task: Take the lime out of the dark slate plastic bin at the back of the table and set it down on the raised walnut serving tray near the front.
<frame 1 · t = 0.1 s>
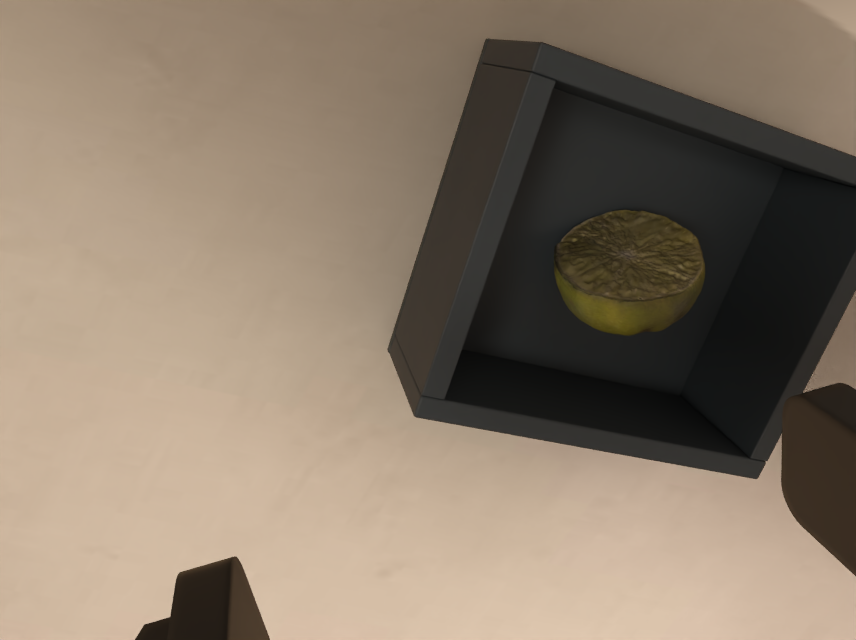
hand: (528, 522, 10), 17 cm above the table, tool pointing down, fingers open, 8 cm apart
bin: (597, 249, 28), on the table
lime: (598, 250, 28), resting on bin
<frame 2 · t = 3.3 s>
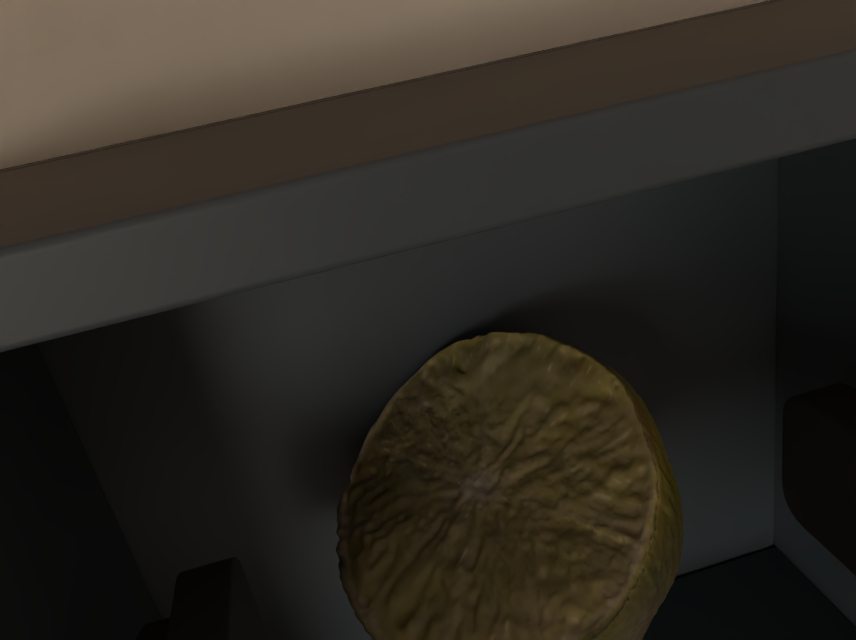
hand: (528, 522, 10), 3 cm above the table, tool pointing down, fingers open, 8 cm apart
bin: (462, 416, 13), on the table
lime: (463, 418, 13), resting on bin
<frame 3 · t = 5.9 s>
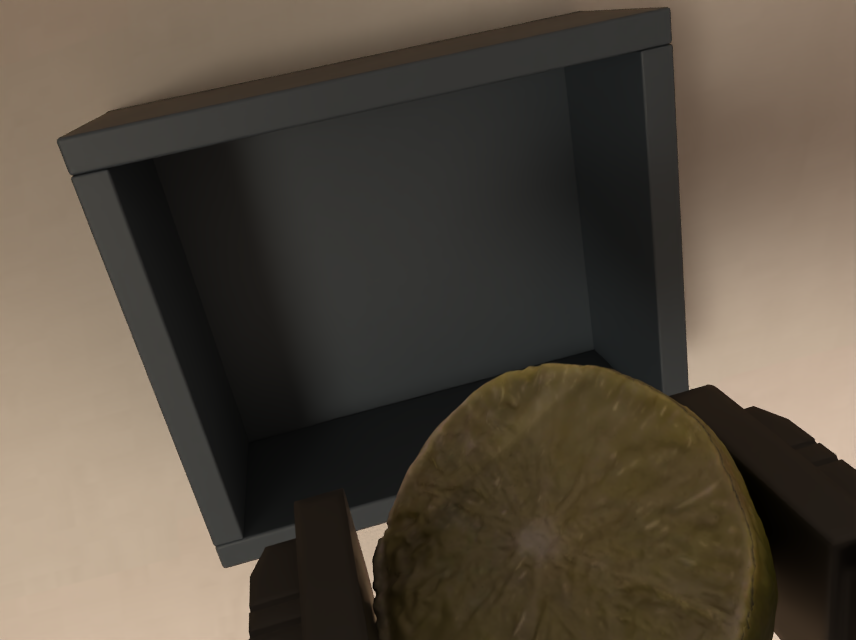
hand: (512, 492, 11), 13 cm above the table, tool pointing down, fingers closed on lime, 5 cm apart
bin: (394, 252, 23), on the table
lime: (508, 454, 12), point 12 cm above the table, touching gripper
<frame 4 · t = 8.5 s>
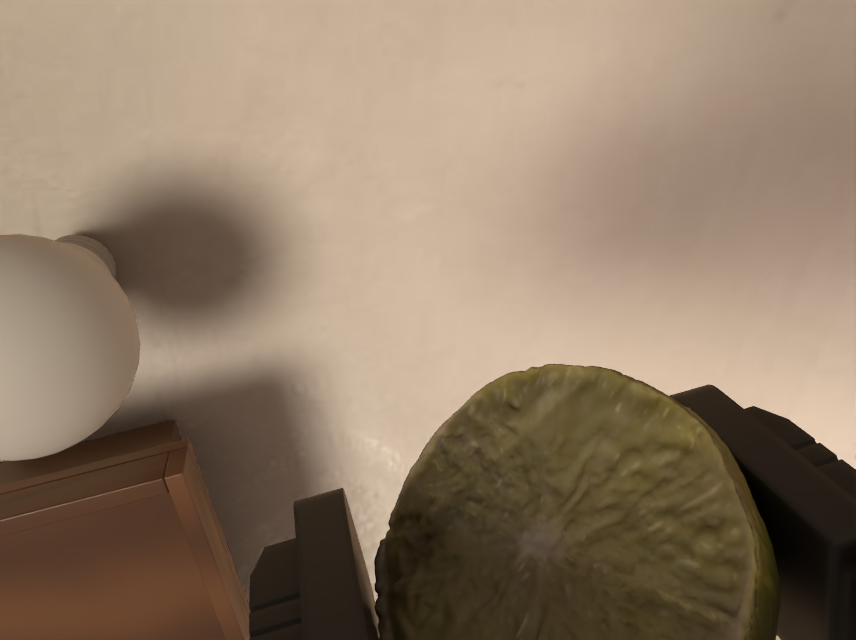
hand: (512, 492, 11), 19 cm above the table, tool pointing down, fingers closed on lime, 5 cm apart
lightbulb: (85, 260, 27), on the table
lime: (510, 455, 12), point 18 cm above the table, touching gripper
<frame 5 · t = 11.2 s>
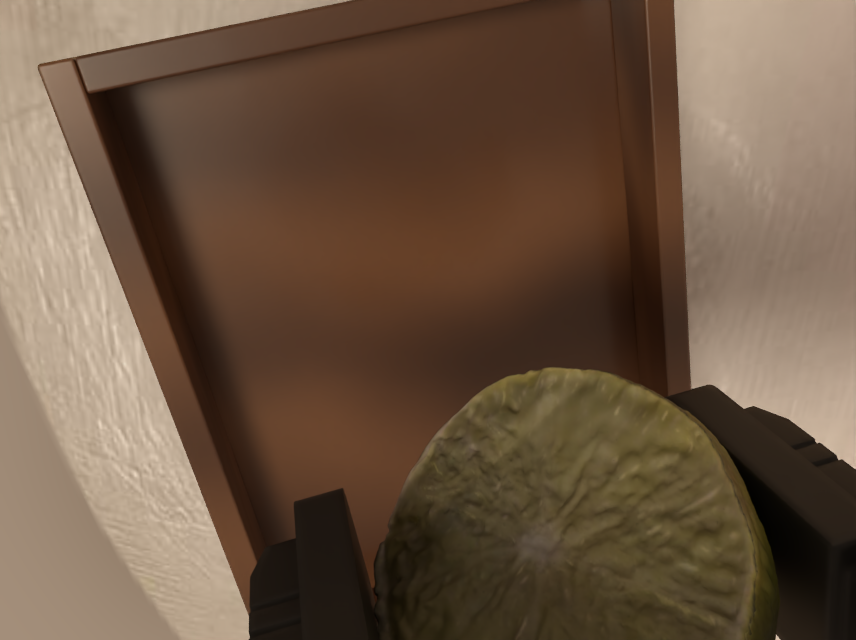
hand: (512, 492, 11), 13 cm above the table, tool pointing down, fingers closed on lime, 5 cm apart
tray: (424, 326, 17), on the table
lime: (509, 457, 12), point 12 cm above the table, touching gripper
when the fingers open (7 cm above the table, at t = 13.0 s): lime stays where it is, resting on tray.
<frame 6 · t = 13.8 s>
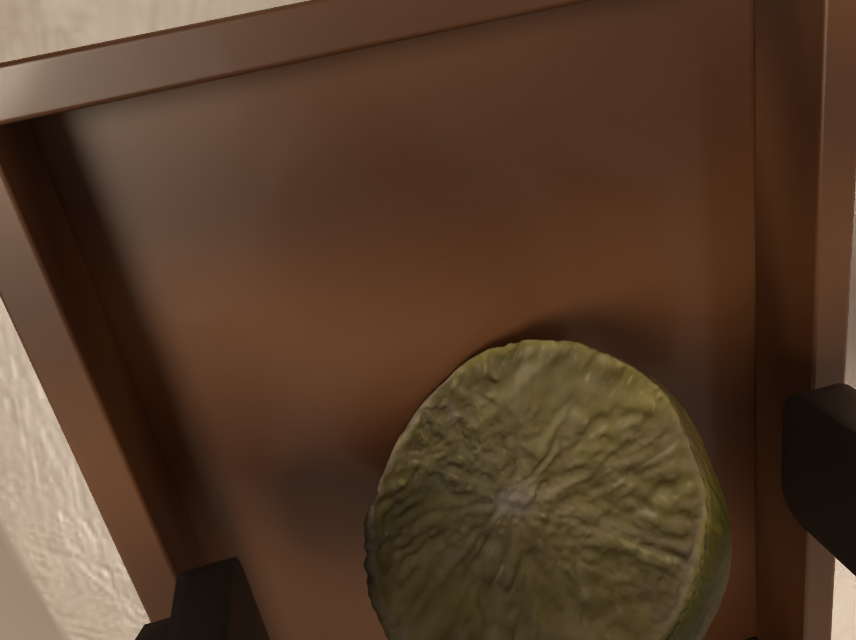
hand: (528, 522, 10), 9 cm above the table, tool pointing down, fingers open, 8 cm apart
tray: (477, 425, 13), on the table
lime: (492, 428, 13), point 6 cm above the table, touching tray
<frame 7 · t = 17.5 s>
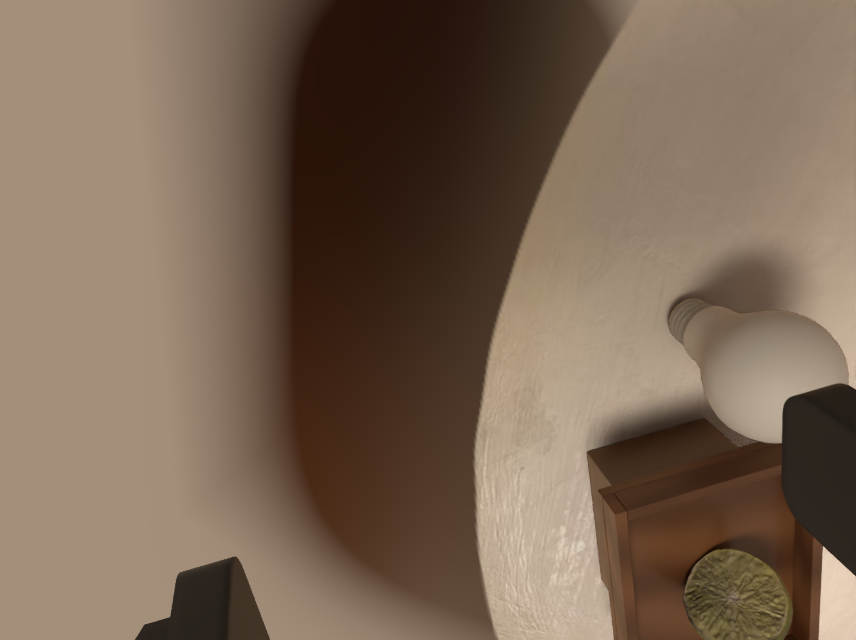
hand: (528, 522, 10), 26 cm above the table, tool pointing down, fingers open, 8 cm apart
tray: (704, 566, 40), on the table
lightbulb: (679, 312, 41), on the table
lime: (711, 568, 39), point 6 cm above the table, touching tray
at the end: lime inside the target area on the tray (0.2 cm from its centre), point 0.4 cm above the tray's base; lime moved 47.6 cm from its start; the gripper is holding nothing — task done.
